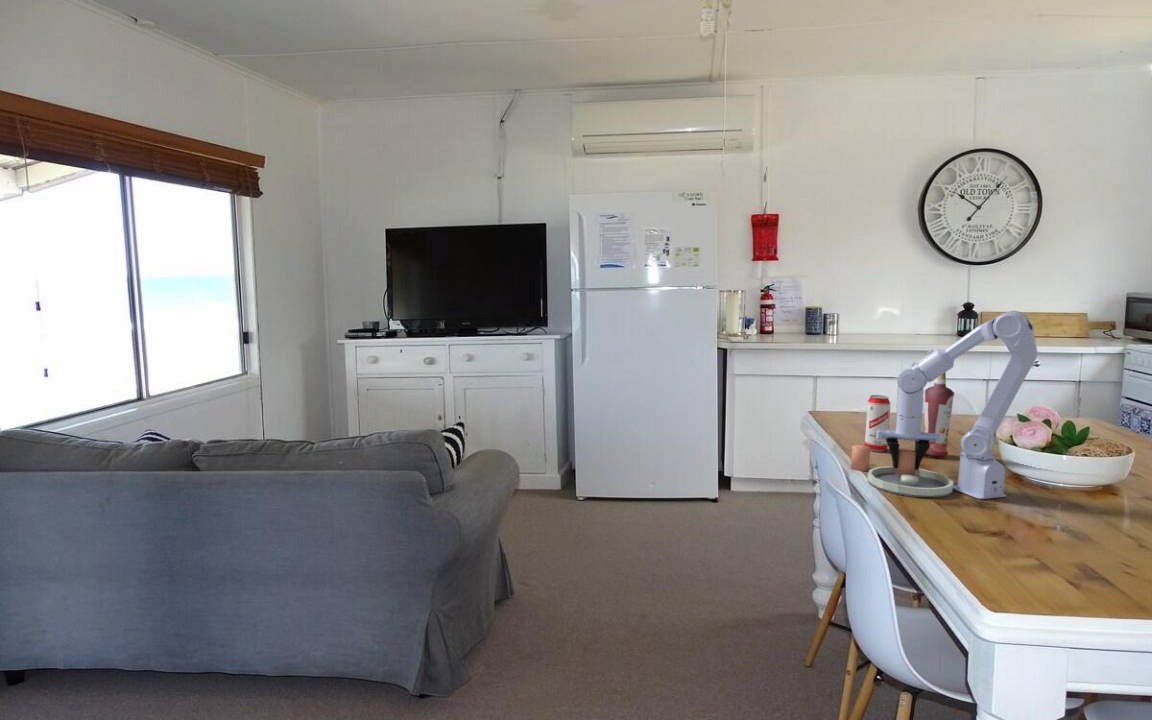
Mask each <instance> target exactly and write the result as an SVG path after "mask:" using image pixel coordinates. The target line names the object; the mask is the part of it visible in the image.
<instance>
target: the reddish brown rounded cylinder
mask: <svg viewBox="0 0 1152 720" xmlns="http://www.w3.org/2000/svg"><path fill="white" fill-rule="evenodd" d="M870 458H871V451H870V447H869V446H865V444H864V445H862V444H854V445H852V446H851V458H850V460H851V461H850V469H851V470H853V471H859V472H869V470H870Z"/></svg>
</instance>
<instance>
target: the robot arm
mask: <svg viewBox="0 0 1152 720" xmlns="http://www.w3.org/2000/svg"><path fill="white" fill-rule="evenodd" d="M998 339H999V340H1001V341H1002V342H1003V343H1004V344H1005V346H1006V348H1007V350H1008V352H1009V354H1010V356H1011V357H1010V359H1009V361H1008V363H1007V364H1006V367H1004V368H1005V369H1004V370H1003V371H1002V374H1001V376H1000V378H999V380H998V381H997V382H996V385H995V387H994V389H993V390H992V392H991V394H990V396H989V398H988V400H987V401H986V403H985V406H984V407H983V409H982V411H981V414H980V415H979V416H978V418H977V420H976V421H975V423H974V425H973V426H972V427H970V429H968V431H967V433H965V434H964V435H963V436H962V437H961V440H960V447H961V451H960V454H959V465H958V466H959V467H958V477H957V478H958V479H957V484H953V490H954V491H958V492H959V493H963V494H966V495H967V496H970V497H972V498H975V499H978V500H984V499H987V500H988V499H995V498H1005V497H1007V495H1006V494H1005V493H1004V491H1005V481H1006V480H1005V477H1006V469H1005V466H1004V465H1003V464H1002V463H1000V462H998V461H997V460H996V455H995V454H994V452H993V450H991V449H992V448H993V447H994V446H995V444H996V443H997V431H998V430H999V428H1000V425H1001V423H1002V421H1003V419H1004V418H1005V416H1006V414H1007V412H1008V410H1009V409H1010V407H1011V405H1012V404H1013V402H1014V400H1015V397H1016V396H1017V394H1018V392H1019V390H1020V388H1021V387H1022V385H1023V383H1024V381H1025V379H1026V377H1027V376H1028V374H1029V372H1030V370H1031V368H1032V367H1033V364H1034V362H1035V361H1036V359H1037V357H1038V349H1037V343H1036V337H1035V333H1034V325H1033V324H1032V322H1031V321H1030V319H1029V318H1028V316H1027V315H1026V314H1025V313H1023V312H1022V311H1017V310H1011V311H1007V312H1004V313H1001V314H999V315H998V316H997V317H995V318H993V319H992V318H991V319H990V320H988V321H986V322H984V323H982V324H980V325H978V326H977V327H976V328H973V329H972V330H971V331H970V332H968V333H966V334H965V335H964V336H963V337H961V338H960V339H958V340H957V341H956V342H954V343H953V344H952V345H950V346H949V347H947V348H945V349H943V348H936V349H934V350H933V349H930V350H928V351H927V352H926V354H927V355H926V356H924V357H922V359H920V360H918V361H917V362H916V361H914V362H912V363H910V366H911V367H908V368H906V369H903V370H902V371H901V372H900V373H899V375H898V377H897V379H896V380H897V385H898V387H899V391H898V397H897V398H898V399H897V413H896V424H895V425H896V426H895V429H889V430H877V438H878V439H886V442H887V444H888V449H889V452H890V456H891V460H892V466H893V467H894V468H897V466H898V450H899V449H900V443H899V441H900V440H901V441H912V442H913V441H914V444H915V445H914V446H915V447H914V450H915V451H916V465H915V470H919V469H920V466H921V462H922V460H923V458H924V456H926V455H925V453H926V451H927V450H928V449H929V447H930V444H929V442H935V443H940V435H939V434H935V433H926V432H924V431H922V423H923V421H922V420H923V411H924V410H923V408H924V407H923V406H924V387H926V386H927V384H928V383H932V382H933V381H935V379H936V378H937V377H939V376H941V375H942V374H944V373H945V372H946V373H947V372H948V371H950V370H952V368H954V363H955V360H956V359H958V358H959V357H961V356H962V355H964V354H965V353H967V352H968V351H970V350H972V349H973V348H975V347H977V346H978V345H980V344H981V343H983V342H987V341H988V342H989V341H995V340H998Z"/></svg>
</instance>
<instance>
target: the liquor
mask: <svg viewBox="0 0 1152 720" xmlns="http://www.w3.org/2000/svg"><path fill="white" fill-rule="evenodd" d="M946 373H947V372H945V373H944V374H942V375H941V376H939V377H937V378H936V379H934V385H933V386H930V387H928V388H926V389H925V390H924V431H923V432H926V433H935V434H939V435H940V443H935V442H929V444H930V447H929V449H928V450H927V451H926V453H925V455H924V456H926V455H927V457H929V456H930V457H929V458H934V457H936V458H935V459H940V458H944V457H945V456H946V455H948V454H949V452H948V450H947V449H948V443H949V442H948V440H949V434H950V433H949V432H950V431H949V430H950V424H951V417H952V410H953V403H954V395H955V392H954V391H953V390H952V389H951V388H949V387H947V379H946V377H947V376H946V375H947V374H946Z"/></svg>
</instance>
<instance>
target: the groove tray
mask: <svg viewBox="0 0 1152 720" xmlns="http://www.w3.org/2000/svg"><path fill="white" fill-rule="evenodd" d="M895 471H896V468H894V467H893V465H892V466H891V465H887V466H886V465H885V466H877V467H873V468H869V470H868V471H867V483H868V484H869V485H870V486H871V487H873V488H875V489H876V490H879V489H880V491H882V490H884V491H883V492H885V491H887V492H886V493H889V492H891V493H890V494H892V493H895V494H894V495H897V494H899V495H898V496H902V495H904V496H903V497H909V496H910V498H918V497H930V498H929V499H935V498H934V497H939V498H945V497H948V496H951V495H952V493H953V490H954V489H953V485H954V480H953V479H951V478H950V477H949V476H947V475H944V474H941V473H938V472H935V471H932V470H927V469H922V468H919V470H915V475H914V476H913V475H899V474H896V473H895ZM931 497H932V498H931Z"/></svg>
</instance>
